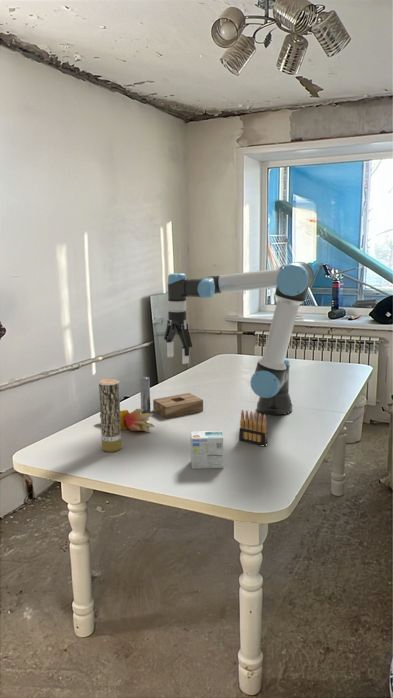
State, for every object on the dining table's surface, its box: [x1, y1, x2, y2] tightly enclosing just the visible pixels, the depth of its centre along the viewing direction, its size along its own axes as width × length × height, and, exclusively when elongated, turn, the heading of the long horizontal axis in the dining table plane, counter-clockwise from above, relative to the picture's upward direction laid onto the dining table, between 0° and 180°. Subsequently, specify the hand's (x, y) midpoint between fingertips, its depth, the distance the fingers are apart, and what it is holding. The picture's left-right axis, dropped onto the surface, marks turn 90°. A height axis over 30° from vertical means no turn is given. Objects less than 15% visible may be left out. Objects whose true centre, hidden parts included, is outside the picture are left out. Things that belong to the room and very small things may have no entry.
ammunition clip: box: [238, 409, 268, 447], centre depth 191 cm, size 11×2×12 cm, turn 58°
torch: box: [99, 408, 156, 433], centre depth 207 cm, size 8×8×25 cm
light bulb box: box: [190, 430, 225, 470], centre depth 173 cm, size 11×7×11 cm, turn 92°
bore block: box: [152, 392, 204, 419], centre depth 227 cm, size 12×18×5 cm, turn 121°
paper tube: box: [98, 378, 122, 453], centre depth 185 cm, size 7×7×25 cm
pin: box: [139, 376, 152, 414], centre depth 221 cm, size 4×4×16 cm
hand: (177, 360), depth 225 cm, fingers open, 13 cm apart
